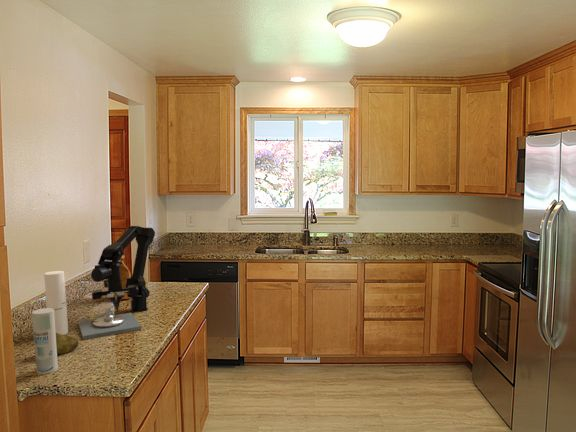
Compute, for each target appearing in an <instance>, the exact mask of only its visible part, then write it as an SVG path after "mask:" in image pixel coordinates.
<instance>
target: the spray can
mask: <svg viewBox="0 0 576 432" xmlns="http://www.w3.org/2000/svg"><path fill="white" fill-rule="evenodd" d="M31 319H32V322H31V323H32V333H33V344H34V345H33V346H34V353H35V354H34V355H35V356H34V357H35V367H36V372H37V374H39V375H47V374H51V373H54V372H56V371H57V370H58V367H59V366H58V365H59V364H58V362H59V361H58V354H57V347H56V333H55V318H54V309H52V308H47V307H45V308H39V309H36V310H33V311H32V312H31Z"/></svg>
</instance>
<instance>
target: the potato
mask: <svg viewBox="0 0 576 432" xmlns="http://www.w3.org/2000/svg"><path fill="white" fill-rule="evenodd" d="M55 333H56V332H55ZM78 346H79V339H77V338H76V337H75V336H72V335H67V334H64V335H63V334H59V333H56V347H57V355H61V354H67V353H70V352H72V351H74V350H75V349H77V348H78Z"/></svg>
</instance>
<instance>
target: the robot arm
mask: <svg viewBox="0 0 576 432" xmlns="http://www.w3.org/2000/svg"><path fill="white" fill-rule="evenodd" d="M155 236H156V231H155V230H154V228H153V227H143V226H140V225H130V226H128V227H127V229H126V230H125V232H124V233H123V234H122V235H121V236H120V237H119V238H118V239H117V240H116V241H115V242H112V244H109V245H107V246H106V247H104V248H103V250H102V252H101V254H100V256H99V260H98V262H97V264H96V265H94V268H93V270H92V271H91V273H90V276H91V278H92V280H93V281H94V282H97V283H99V282H103V288H104V289H106V288H107V290H104V291H103V289H95V290H92V291H91V299H92V300H93V301H95V300H99V299H102V297H104V296H107V300H110V301H111V303H112V304H113V305H114V309H115V310H116V312H119V309H120V308H119V307H120V303H121V301H122V300H121V298H122V297H124V293H126V292H127V295H128V297H131V298H130V299H131V300H129V303H130V310H131V311H132V312H133V313H137V312H143V311H148V310H149V309H148V308H147V307H148V305H147V298H148V297H150V293H151V292H150V290H149V289H148V288H147V285H146V280H145V278H144V275H145V269H146V264H147V263H146V262H147V258H148V253H149V248H150V245H152V243H153V242H154V239H155ZM134 239H135V241H136V244H137V248H136V253H135V259H134V264H133V271H132V273H131V274H132V275H131V277H130V278H127V282H126V286H125V287H126V288H124V289H122V283H121V274H120V264H122V263H123V262H124V261H123V262H122V261H120V259H121V257H122V256H123V255H124V254H125V253H124V252H125V249H126V248H127V247H128V246H130V244H131V243H132V242H133V241H134ZM115 294H117V301H116V299H115Z"/></svg>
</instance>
